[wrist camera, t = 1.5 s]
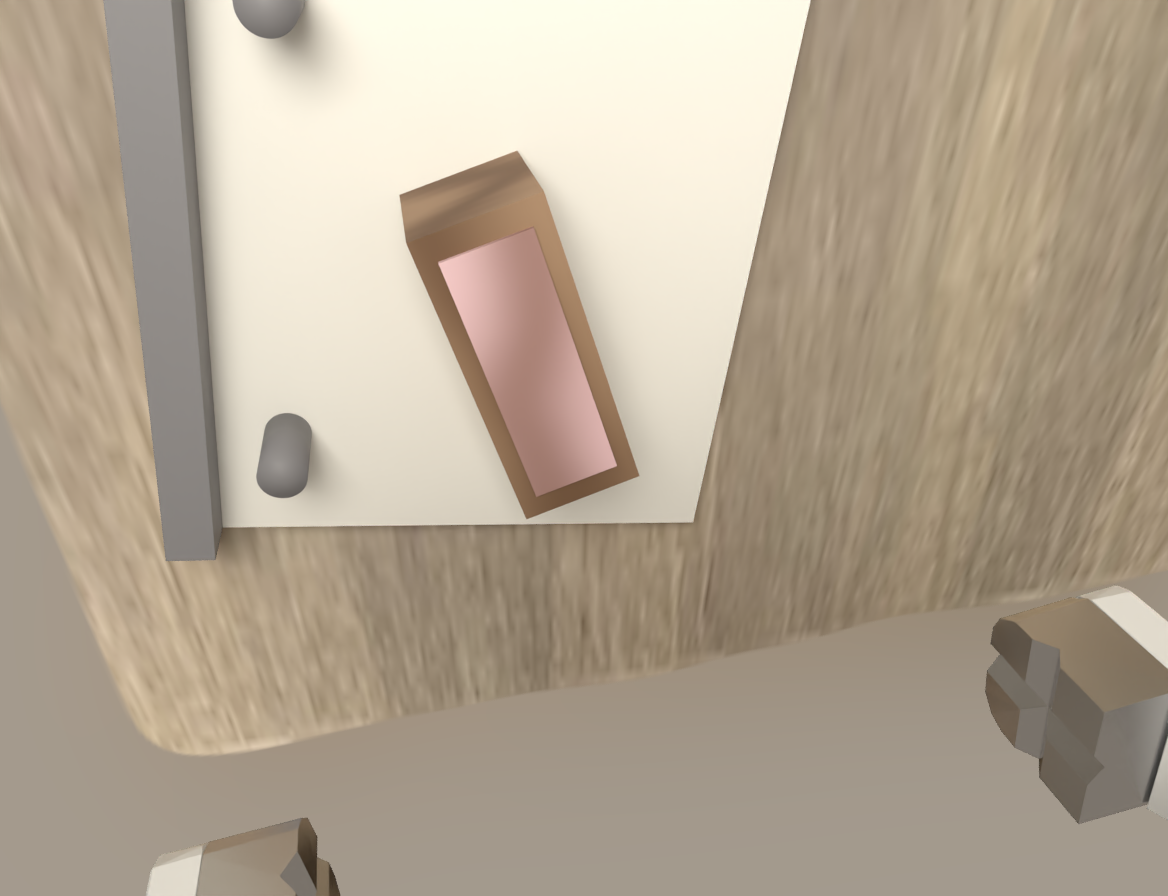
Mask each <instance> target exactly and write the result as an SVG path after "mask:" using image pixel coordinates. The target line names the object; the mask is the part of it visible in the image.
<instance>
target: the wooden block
mask: <svg viewBox="0 0 1168 896" xmlns="http://www.w3.org/2000/svg"><path fill="white" fill-rule="evenodd" d="M399 196H400V203H401V210H402V217H403V225H404V232H405V239H406V244H407V246H408V249H409V251H410V253H411V256H412V258H413V260H414V263H415V265H416V267H417V269H418V272H419V274H420V276H421V279H422V281H423V283H424V285H425V288H426V290H427V292H428V295H429V297H430V299H431V302H432V304H433V306H434V308H435V311H436V313H437V315H438V318H439V320H440V322H441V324H442V327H443V329H444V331H445V334H446V336H447V338H448V341H449V343H450V345H451V347H452V350H453V352H454V354H455V357H456V359H457V361H458V363H459V366H460V368H461V370H462V373H463V375H464V377H465V380H466V382H467V384H468V386H469V389H470V391H471V393H472V396H473V398H474V400H475V402H476V405H477V407H478V409H479V412H480V414H481V416H482V419H483V421H484V423H485V425H486V428H487V430H488V432H489V435H490V437H491V439H492V441H493V444H494V446H495V448H496V451H497V453H498V455H499V458H500V460H501V462H502V464H503V467H504V469H505V471H506V474H507V476H508V478H509V480H510V483H511V485H512V487H513V490H514V492H515V494H516V497H517V499H518V501H519V503H520V506H521V508H522V510H523V513H524V515H525V517H526V519H529V518H532V517H534V516H537V515H539V514H542V513H545V512H547V511H550V510H552V509H555V508H558V507H560V506H563V505H565V504H568V503H571V502H573V501H576V500H578V499H581V498H584V497H586V496H589V495H591V494H594V493H597V492H599V491H602V490H604V489H607V488H610V487H612V486H615V485H617V484H620V483H623V482H625V481H628V480H630V479H633V478H636V477H638V476H639V473H638V470H637V467H636V464H635V461H634V458H633V455H632V452H631V449H630V446H629V443H628V440H627V437H626V434H625V431H624V428H623V425H622V422H621V419H620V416H619V413H618V410H617V407H616V404H615V401H614V398H613V396H612V393H611V390H610V387H609V384H608V381H607V378H606V375H605V372H604V369H603V366H602V363H601V360H600V357H599V354H598V351H597V348H596V345H595V342H594V339H593V336H592V333H591V330H590V327H589V324H588V321H587V318H586V315H585V312H584V309H583V306H582V303H581V300H580V297H579V294H578V291H577V288H576V285H575V282H574V279H573V276H572V273H571V270H570V267H569V264H568V261H567V258H566V255H565V252H564V249H563V246H562V244H561V241H560V238H559V235H558V232H557V229H556V226H555V223H554V220H553V217H552V214H551V211H550V208H549V205H548V202H547V199H546V196H545V193H544V191H543V189H542V188H541V186H540V184H539V183H538V181H537V180H536V178H535V177H534V175H533V174H532V172H531V171H530V169H529V168H528V166H527V165H526V163H525V162H524V160H523V159H522V157H521V156H520V154H519V152H518V151H515V152H512V153H509V154H507V155H504V156H501V157H499V158H496V159H493V160H491V161H488V162H485V163H483V164H480V165H477V166H475V167H472V168H469V169H467V170H464V171H461V172H459V173H456V174H453V175H451V176H448V177H446V178H443V179H440V180H438V181H435V182H432V183H430V184H427V185H424V186H422V187H419V188H416V189H414V190H411V191H408V192H406V193H403V194H400V195H399Z"/></svg>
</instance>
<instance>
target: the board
mask: <svg viewBox="0 0 1168 896" xmlns="http://www.w3.org/2000/svg"><path fill="white" fill-rule="evenodd" d="M103 1H104V9H105V18H106V27H107V36H108V45H109V54H110V63H111V72H112V81H113V90H114V99H115V108H116V117H117V126H118V135H119V144H120V153H121V162H122V171H123V180H124V189H125V198H126V207H127V216H128V225H129V234H130V243H131V252H132V261H133V270H134V279H135V288H136V297H137V306H138V315H139V324H140V333H141V342H142V351H143V360H144V369H145V378H146V387H147V396H148V404H149V413H150V422H151V431H152V440H153V449H154V458H155V467H156V476H157V485H158V494H159V503H160V512H161V521H162V530H163V539H164V548H165V557H166V561H191V560H216V555H217V551H218V546H219V542H220V537H221V533H222V528H223V527H309V526H402V525H495V524H588V523H681V522H693V520H694V516H695V511H696V507H697V503H698V498H699V494H700V489H701V485H702V480H703V476H704V472H705V467H706V463H707V458H708V454H709V449H710V445H711V440H712V436H713V432H714V427H715V423H716V418H717V414H718V409H719V405H720V400H721V396H722V392H723V387H724V383H725V378H726V374H727V369H728V365H729V360H730V356H731V352H732V347H733V343H734V338H735V334H736V329H737V325H738V321H739V316H740V312H741V307H742V303H743V298H744V294H745V289H746V285H747V281H748V276H749V272H750V267H751V263H752V258H753V254H754V249H755V245H756V241H757V236H758V232H759V227H760V223H761V218H762V214H763V210H764V205H765V201H766V196H767V192H768V187H769V183H770V178H771V174H772V170H773V165H774V161H775V156H776V152H777V147H778V143H779V138H780V134H781V130H782V125H783V121H784V116H785V112H786V107H787V103H788V98H789V94H790V90H791V85H792V81H793V76H794V72H795V67H796V63H797V59H798V54H799V50H800V45H801V41H802V36H803V32H804V27H805V23H806V19H807V14H808V10H809V5H810V1H811V0H103ZM515 151H518V152H519V154H520V156H521V157H522V159H523V160H524V162H525V163H526V165H527V166H528V168H529V169H530V171H531V172H532V174H533V175H534V177H535V178H536V180H537V181H538V183H539V184H540V186H541V188H542V189H543V191H544V193H545V196H546V199H547V202H548V205H549V208H550V211H551V214H552V217H553V220H554V223H555V226H556V229H557V232H558V235H559V238H560V241H561V244H562V246H563V249H564V252H565V255H566V258H567V261H568V264H569V267H570V270H571V273H572V276H573V279H574V282H575V285H576V288H577V291H578V294H579V297H580V300H581V303H582V306H583V309H584V312H585V315H586V318H587V321H588V324H589V327H590V330H591V333H592V336H593V339H594V342H595V345H596V348H597V351H598V354H599V357H600V360H601V363H602V366H603V369H604V372H605V375H606V378H607V381H608V384H609V387H610V390H611V393H612V396H613V398H614V401H615V404H616V407H617V410H618V413H619V416H620V419H621V422H622V425H623V428H624V431H625V434H626V437H627V440H628V443H629V446H630V449H631V452H632V455H633V458H634V461H635V464H636V467H637V470H638V473H639V476H638V477H636V478H633V479H630V480H628V481H625V482H623V483H620V484H617V485H615V486H612V487H610V488H607V489H604V490H602V491H599V492H597V493H594V494H591V495H589V496H586V497H584V498H581V499H578V500H576V501H573V502H571V503H568V504H565V505H563V506H560V507H558V508H555V509H552V510H550V511H547V512H545V513H542V514H539V515H537V516H534V517H532V518H529V519H526V517H525V515H524V513H523V510H522V508H521V506H520V503H519V501H518V499H517V497H516V494H515V492H514V490H513V487H512V485H511V483H510V480H509V478H508V476H507V474H506V471H505V469H504V467H503V464H502V462H501V460H500V458H499V455H498V453H497V451H496V448H495V446H494V444H493V441H492V439H491V437H490V435H489V432H488V430H487V428H486V425H485V423H484V421H483V419H482V416H481V414H480V412H479V409H478V407H477V405H476V402H475V400H474V398H473V396H472V393H471V391H470V389H469V386H468V384H467V382H466V380H465V377H464V375H463V373H462V370H461V368H460V366H459V363H458V361H457V359H456V357H455V354H454V352H453V350H452V347H451V345H450V343H449V341H448V338H447V336H446V334H445V331H444V329H443V327H442V324H441V322H440V320H439V318H438V315H437V313H436V311H435V308H434V306H433V304H432V302H431V299H430V297H429V295H428V292H427V290H426V288H425V285H424V283H423V281H422V279H421V276H420V274H419V272H418V269H417V267H416V265H415V263H414V260H413V258H412V256H411V253H410V251H409V249H408V246H407V244H406V239H405V232H404V225H403V217H402V210H401V203H400V196H399V195H400V194H403V193H406V192H408V191H411V190H414V189H416V188H419V187H422V186H424V185H427V184H430V183H432V182H435V181H438V180H440V179H443V178H446V177H448V176H451V175H453V174H456V173H459V172H461V171H464V170H467V169H469V168H472V167H475V166H477V165H480V164H483V163H485V162H488V161H491V160H493V159H496V158H499V157H501V156H504V155H507V154H509V153H512V152H515Z"/></svg>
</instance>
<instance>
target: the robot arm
mask: <svg viewBox="0 0 1168 896" xmlns="http://www.w3.org/2000/svg"><path fill="white" fill-rule="evenodd" d="M991 644H992V645H993V647H994V648H995V649H996V650H997V651H998V652H999V653H1000V655H999V656H998V658H997V659H996V660H995V661H994V663H993V664H992V665H991V666H990V668H989V669H988V670H987V678H986V690H985V692H986V696H987V699H988V703H989V706H990V710H991V713H992V715H993V717H994V719H995V721H996V722H997V724H998V726H999V728H1000V730H1001V731H1002V732H1003V734H1004V735H1005V736H1006V737H1007V739H1008V740H1009V741H1010V742H1011V743H1012V745H1013V746H1014V747H1015V748H1017V749H1019V750H1021V751H1023V752H1026V753H1028V754H1030V755H1032V756H1034V757H1036V758H1039V777H1040V779H1041V780H1042V781H1043V782H1044V783H1045V785H1046V786H1047V787H1048V788H1049V789H1050V791H1051V792H1052V793H1053V794H1054V795H1055V797H1056V798H1057V799H1058V800H1059V801H1060V802H1061V804H1062V805H1063V806H1064V807H1065V808H1066V810H1067V811H1068V812H1069V813H1070V814H1071V816H1072V817H1073V818H1074V819H1075V820H1076V822H1077V823H1078V824H1080V823H1084V822H1087V821H1090V820H1094V819H1098V818H1101V817H1105V816H1108V815H1112V814H1115V813H1119V812H1122V811H1126V810H1129V809H1133V808H1136V807H1139V806H1143V805H1147V804H1148V806H1147V809H1148V810H1150V811H1152V812H1154V813H1156V814H1157V815H1159V816H1161V817H1163V818H1164V819H1166V820H1168V622H1167V621H1166V620H1165V619H1164V618H1163V617H1161V616H1160V615H1159V614H1158V613H1157V612H1155V611H1154V610H1153V609H1152V608H1150V607H1149V606H1148V605H1147V604H1146V603H1144V602H1143V601H1142V600H1141V599H1139V598H1138V597H1137V596H1136V595H1135V594H1134V593H1132V592H1131V591H1129V590H1128V589H1125V588H1123V587H1120V586H1117V585H1115V586H1111V587H1108V588H1105V589H1101V590H1098V591H1094V592H1090V593H1087V594H1084V595H1080V596H1077V597H1075V598H1067V599H1064V600H1061V601H1057V602H1054V603H1051V604H1047V605H1044V606H1041V607H1037V608H1034V609H1030V610H1027V611H1024V612H1020V613H1017V614H1014V615H1011V616H1007V617H1004V618H1000V619H999V621H998V622H997V623H996V625H995V626H994V627H993V632H992V638H991ZM146 896H340V892H339V889H338V885H337V882H336V878H335V875H334V873H333V871H332V868H331V866H330V864H329V862H327V861H324V860H322V859H320V858H317V835H316V833H315V832H314V830H313V828H312V825H311V824H310V822H309V820H308V818H300V819H296V820H292V821H288V822H284V823H280V824H276V825H272V826H268V827H265V828H261V829H257V830H253V831H249V832H245V833H241V834H237V835H233V836H229V837H226V838H222V839H218V840H214V841H210V842H208V843H204V844H200V845H197V846H193V847H189V848H186V849H182V850H178V851H174V852H170V853H167V854H163V855H160V856H159V858H158V860H157V861H156V863H155V865H154V867H153V869H152V870H151V873H150V878H149V883H148V888H147V893H146Z"/></svg>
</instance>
